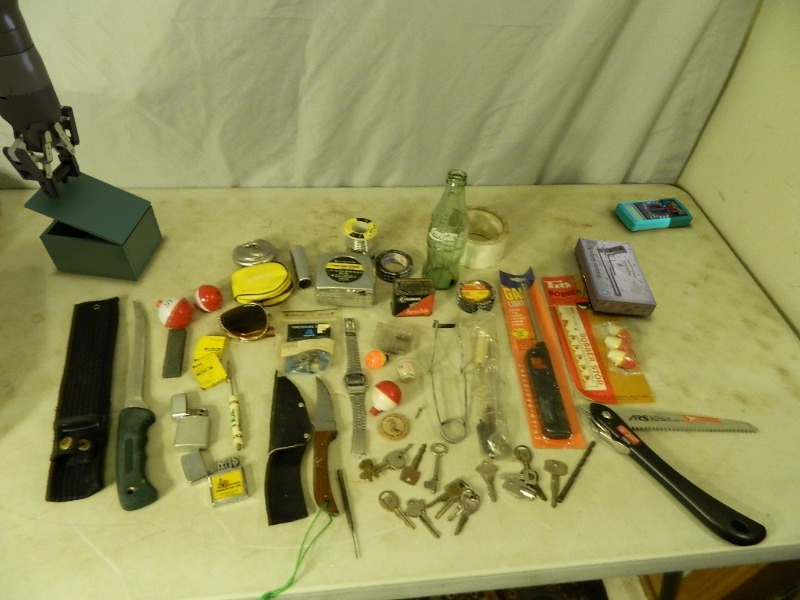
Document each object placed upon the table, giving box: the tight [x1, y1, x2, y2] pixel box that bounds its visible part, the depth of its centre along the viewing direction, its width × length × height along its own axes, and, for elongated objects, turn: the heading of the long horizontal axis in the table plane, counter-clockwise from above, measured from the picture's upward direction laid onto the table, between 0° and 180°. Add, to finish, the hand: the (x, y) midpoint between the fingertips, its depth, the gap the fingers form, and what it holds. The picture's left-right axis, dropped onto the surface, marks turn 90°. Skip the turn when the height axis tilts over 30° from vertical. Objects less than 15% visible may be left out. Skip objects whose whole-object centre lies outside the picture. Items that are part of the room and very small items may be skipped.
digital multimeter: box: [614, 197, 694, 232], centre depth 112 cm, size 7×15×3 cm, turn 103°
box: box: [574, 237, 658, 318], centre depth 97 cm, size 11×17×3 cm, turn 177°
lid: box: [23, 161, 152, 246], centre depth 84 cm, size 14×11×5 cm
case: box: [38, 204, 164, 282], centre depth 91 cm, size 14×11×8 cm
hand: (64, 185), depth 83 cm, fingers closed on lid, 5 cm apart
